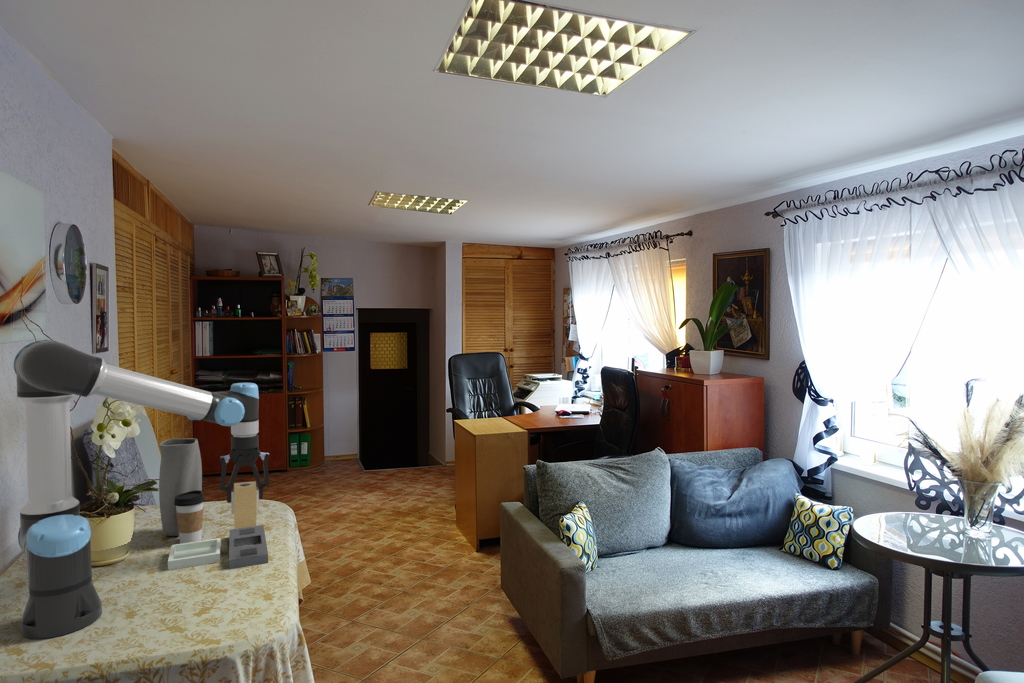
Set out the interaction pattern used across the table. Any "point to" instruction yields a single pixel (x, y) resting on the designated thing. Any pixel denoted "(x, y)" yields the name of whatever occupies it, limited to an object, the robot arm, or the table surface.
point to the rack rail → (247, 547)
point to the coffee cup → (190, 515)
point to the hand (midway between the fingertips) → (245, 511)
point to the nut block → (244, 504)
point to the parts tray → (194, 553)
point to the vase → (177, 477)
